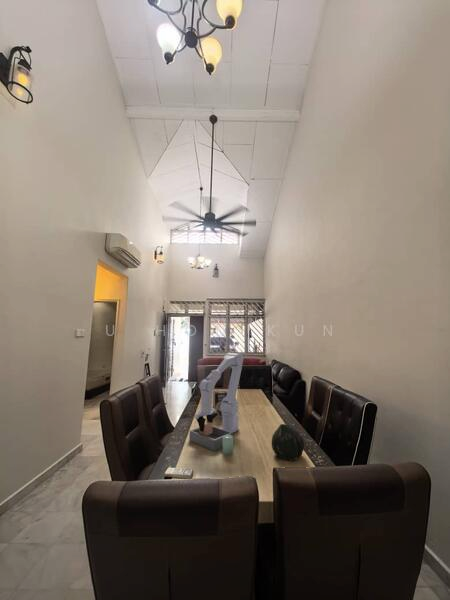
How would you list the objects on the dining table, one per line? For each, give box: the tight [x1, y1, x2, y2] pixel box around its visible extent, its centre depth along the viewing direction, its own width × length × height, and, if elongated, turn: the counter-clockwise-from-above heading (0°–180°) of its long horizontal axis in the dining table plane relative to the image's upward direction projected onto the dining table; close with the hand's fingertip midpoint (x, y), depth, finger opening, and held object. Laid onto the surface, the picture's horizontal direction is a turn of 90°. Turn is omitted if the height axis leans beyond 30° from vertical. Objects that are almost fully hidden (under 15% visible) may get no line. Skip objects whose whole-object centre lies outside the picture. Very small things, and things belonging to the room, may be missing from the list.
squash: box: [271, 423, 305, 461], centre depth 122 cm, size 14×15×15 cm
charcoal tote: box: [189, 425, 233, 452], centre depth 136 cm, size 18×14×5 cm
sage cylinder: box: [221, 434, 234, 456], centre depth 124 cm, size 5×5×7 cm
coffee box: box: [212, 390, 228, 420], centre depth 176 cm, size 9×6×16 cm
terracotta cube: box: [198, 420, 214, 436], centre depth 138 cm, size 5×5×5 cm
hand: (205, 429), depth 138 cm, fingers closed on terracotta cube, 5 cm apart
